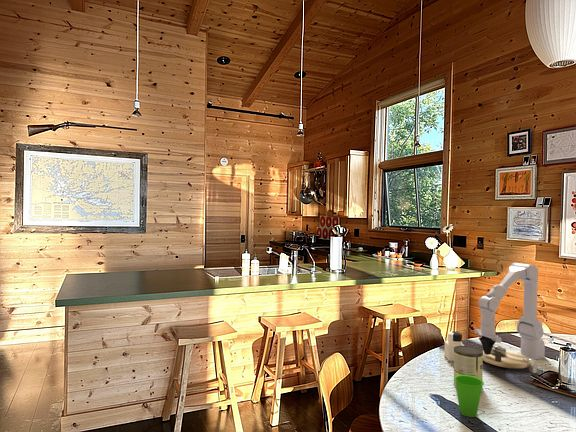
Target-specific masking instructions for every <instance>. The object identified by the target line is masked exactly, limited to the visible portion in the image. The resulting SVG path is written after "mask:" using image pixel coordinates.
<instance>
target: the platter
mask: <svg viewBox="0 0 576 432" xmlns="http://www.w3.org/2000/svg"><path fill="white" fill-rule="evenodd" d="M482 351H483V361H484V362H485V363H487V364H490V365H493V366H497V367H501V368H507V369H526V368H527V369H528V368H529V366H528V365H527V362H526V361H524V360H522V359H525V360H527V359H529V358H528V357H526V356H524V355H521V354H519V353H520V352H514V351H510V350H506V355H505V356H501V351H495V355H492V354H490V355H486V354H484V350H482Z"/></svg>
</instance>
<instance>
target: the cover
mask: <svg viewBox="0 0 576 432" xmlns="http://www.w3.org/2000/svg"><path fill="white" fill-rule="evenodd" d="M495 351H501V356H505V355H506V351H507V349H506V348H504V347H502V346H501V345H497V344H496V345H495V344H494V345H493V347H492V350H491V353H490V354H492V355H495Z"/></svg>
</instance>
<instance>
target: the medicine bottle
mask: <svg viewBox="0 0 576 432" xmlns="http://www.w3.org/2000/svg"><path fill="white" fill-rule="evenodd" d="M456 346H465V345H464V344H463V334H462V333H460V332H458V331H449V332H447V340H444V355H443V356H444V357H445V358H446V359H447V361H448V362H454V347H456Z"/></svg>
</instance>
